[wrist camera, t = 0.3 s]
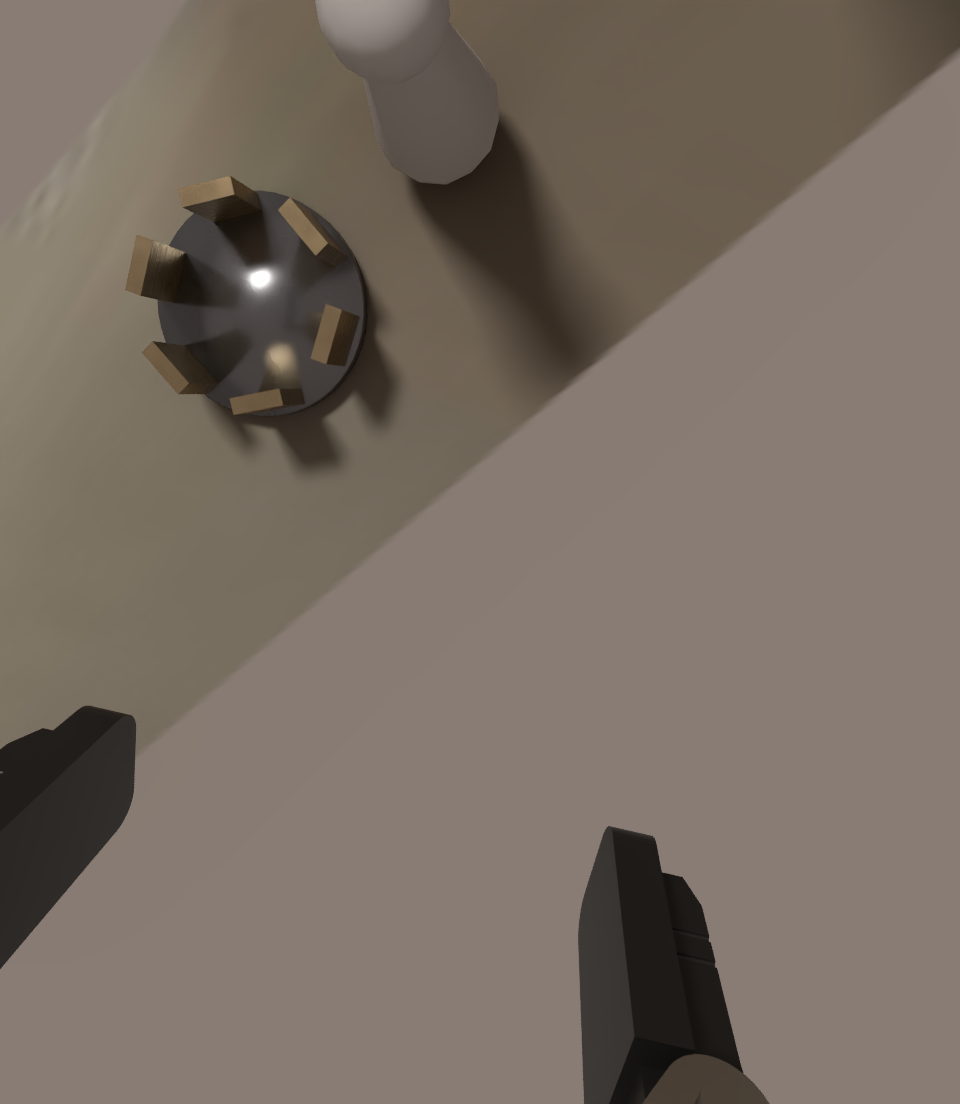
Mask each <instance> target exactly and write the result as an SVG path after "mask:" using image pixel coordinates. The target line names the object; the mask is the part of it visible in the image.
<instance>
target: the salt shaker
mask: <svg viewBox="0 0 960 1104" xmlns="http://www.w3.org/2000/svg"><path fill="white" fill-rule="evenodd" d="M315 1H316V7H317V13H318V18H319V23H320V26H321V29H322V32H323V34H324V36H325V38H326V39H327V41H328V42H329V44H330V46H331V47H332V49H333V51H334V52H335V54H336V55H337V57H338V59H339V60H340V61H341V62H342V64H343V65H344V66H345V67H346V68H347V69H349V70H351V71H353V72H354V73H356V74H358V75H359V76H361V77H363V80H364V85H365V89H366V94H367V98H368V103H369V108H370V112H371V117H372V121H373V126H374V130H375V135H376V140H377V142H378V144H379V145H380V147H381V149H382V150H383V152H384V154H385V155H386V157H387V158H388V160H389V162H390V163H391V165H392V166H393V167H394V168H395V169H397V170H399V171H401V172H402V173H404V174H406V175H407V176H409V177H411V178H413V179H414V180H416V181H418V182H420V183H433V184H445V185H447V184H449V183H451V182H453V181H455V180H457V179H459V178H461V177H463V176H465V175H467V174H469V173H471V172H472V171H473V170H474V169H475V168H476V167H477V166H478V164H479V163H480V162H481V161H482V160H483V159H484V158H485V156H486V155H487V154H488V153H489V152H490V151H491V148H492V144H493V140H494V136H495V133H496V129H497V125H498V121H499V117H500V115H499V106H498V97H497V87H496V83H495V81H494V80H493V78H492V77H491V75H490V73H489V72H488V70H487V69H486V67H485V66H484V64H483V62H482V61H481V59H480V58H479V56H478V55H477V54H476V53H475V52H474V50H473V49H472V48H471V47H470V46H469V45H468V43H467V42H466V41H465V40H464V39H463V37H462V36H461V35H460V34H459V33H458V32H457V30H456V29H455V28H454V27H453V26H452V25H451V23H450V22H449V17H450V8H449V0H315Z"/></svg>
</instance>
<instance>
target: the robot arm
mask: <svg viewBox="0 0 960 1104" xmlns="http://www.w3.org/2000/svg"><path fill="white" fill-rule="evenodd" d="M135 743H136V723H135V719H134V718H133V716H131V715H128V714H123V713H119V712H115V711H110V710H106V709H102V708H97V707H93V706H84V707H81V708H80V709H79V710H77V711H76V712H75V713H74V714H72V715H71V716H70V717H69V718H68V719H66V720H65V721H64V722H63V723H62V724H60V725H59V726H58V727H57V728H56V729H54V730H49V729H44V728H42V729H40V730H38V731H35V732H33V733H31V734H29V735H26V736H24V737H22V738H19V739H17V740H15V741H13V742H10V743H8V744H7V745H5V746H4V747H3V748H2V749H0V969H1V968H2V966H3V965H4V964H5V963H6V961H7V960H8V959H9V958H10V957H11V956H12V955H13V953H14V952H15V951H16V949H18V947H19V946H20V945H21V944H22V943H23V941H24V940H25V939H26V938H27V937H28V936H29V934H30V933H31V932H32V931H33V930H34V928H35V927H36V926H37V925H38V924H39V922H40V921H41V920H42V919H43V918H44V917H45V915H46V914H47V913H48V912H49V911H50V909H51V908H52V907H53V906H54V905H55V904H56V902H57V901H58V900H59V899H60V897H61V896H62V895H63V894H64V893H65V892H66V890H67V889H68V888H69V887H70V886H71V885H72V883H73V882H74V881H75V880H76V879H77V877H78V876H79V875H80V874H81V873H82V871H83V870H84V869H85V868H86V866H87V865H88V864H89V863H90V862H91V861H92V859H93V858H94V857H95V856H96V855H97V854H98V852H99V851H100V850H101V849H102V848H103V847H104V845H105V844H106V843H107V842H108V841H109V839H110V838H111V837H112V836H113V835H114V833H115V832H116V831H117V830H118V828H119V827H120V826H121V824H122V823H123V821H124V819H125V817H126V815H127V813H128V810H129V808H130V805H131V802H132V798H133V793H134V771H135ZM578 945H579V971H580V1000H581V1025H582V1026H581V1027H582V1055H583V1082H584V1104H769V1102H768V1101H767V1099H766V1098H765V1096H764V1095H763V1094H762V1092H761V1091H760V1090H759V1089H758V1088H757V1086H756V1085H755V1084H754V1083H753V1082H752V1081H751V1080H750V1079H749V1078H748V1077H747V1076H746V1075H744V1074H743V1071H742V1067H741V1064H740V1060H739V1056H738V1052H737V1048H736V1044H735V1039H734V1036H733V1031H732V1027H731V1024H730V1019H729V1015H728V1011H727V1007H726V1003H725V999H724V995H723V991H722V987H721V982H720V979H719V974H718V970H717V968H715V958H714V954H713V950H712V946H711V943H710V942H709V934H708V930H707V925H706V922H705V917H704V913H703V909H702V906H701V904H700V903H699V901H698V900H697V898H696V897H695V895H694V894H693V892H692V891H691V889H690V888H689V886H688V885H687V883H686V882H685V880H684V879H683V877H679V876H675V875H671V874H667V873H662V871H661V866H660V861H659V855H658V850H657V845H656V841H655V838H653V836H650V835H645V834H641V833H637V832H633V831H628V830H624V829H619V828H615V827H611V826H608V827H607V828H606V830H605V832H604V834H603V837H602V840H601V844H600V847H599V850H598V853H597V856H596V859H595V862H594V866H593V870H592V872H591V875H590V878H589V882H588V885H587V888H586V891H585V895H584V898H583V902H582V907H581V913H580V920H579V931H578Z"/></svg>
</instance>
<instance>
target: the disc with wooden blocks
mask: <svg viewBox="0 0 960 1104" xmlns="http://www.w3.org/2000/svg"><path fill="white" fill-rule="evenodd" d="M178 190H179V195H180V199H181V203H182V207H183V208H185V209H187V210H189V211H191V212H193V213H194V214H193V215H192V216H191V217H190V218H189V219H187V220H186V221H185V223H184V224H183V225H182V226H181V228H180V229H179V230H178V231H177V233H176V235H175V236H174V238H173V240H172V241H171V243H170V245H169V246H167V245H164V244H161V243H158V242H156V241H153V240H150V239H147V238H145V237H142V236H139V235H137V237H136V241H135V246H134V251H133V256H132V260H131V265H130V270H129V274H128V279H127V284H126V289H125V290H127V291H130V292H132V293H135V294H138V295H140V296H145V297H149V298H154V299H158V312H159V318H160V323H161V328H162V331H163V335H164V338H165V341H166V343H162V342H154V341H152V342H151V343H150V345H149V346H148V347H147V348H146V349H145V350H144V351H143V352H142V353H143V354H144V356H145V357H146V358H147V359H148V360H149V361H150V362H151V364H152V365H153V366H154V367H155V368H156V369H157V370H158V372H159V373H160V374H161V375H162V376H163V377H164V378H165V380H166V381H167V382H168V383H169V384H170V385H171V386H172V388H173V389H174V390H175V391H176V392H177V393H178V394H205V395H206V396H207V397H209V398H210V399H212V400H214V401H215V402H217V403H219V404H220V405H222V406H225V407H227V408H229V409H231V410H232V411H233V415H239V414H250V415H256V416H277V415H285V414H291V413H295V412H299V411H302V410H304V409H307V408H309V407H311V406H314V405H315V404H317V403H319V402H320V401H322V400H324V399H325V398H326V397H327V396H329V395H330V394H331V393H332V392H334V391H335V390H336V389H337V388H338V386H339V385H340V384H341V383H342V382H343V381H344V380H345V378H346V377H347V375H348V374H349V373H350V371H351V370H352V368H353V366H354V364H355V362H356V360H357V358H358V356H359V353H360V350H361V348H362V345H363V341H364V336H365V332H366V324H367V298H366V291H365V286H364V282H363V278H362V274H361V271H360V269H359V266H358V264H357V261H356V259H355V257H354V255H353V253H352V252H351V250H350V248H349V246H348V245H347V243H346V242H345V240H344V239H343V238H342V236H341V235H340V234H339V233H338V232H337V230H336V229H335V228H334V227H333V226H332V225H331V224H330V223H329V222H328V221H326V220H325V219H324V218H323V217H322V216H320V215H319V214H318V213H316V212H315V211H314V210H312V209H311V208H309V207H307V206H306V205H304V204H302V203H301V202H299V201H296V200H294V199H292V198H290V197H287V196H284V195H280V194H277V193H273V192H266V191H253V190H251V189H250V188H248V187H247V186H245V185H244V184H242V183H240V182H239V181H237V180H236V179H234V178H233V177H231V176H228V177H224V178H220V179H216V180H212V181H208V182H204V183H200V184H196V185H192V186H188V187H184V188H180V189H178Z"/></svg>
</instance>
